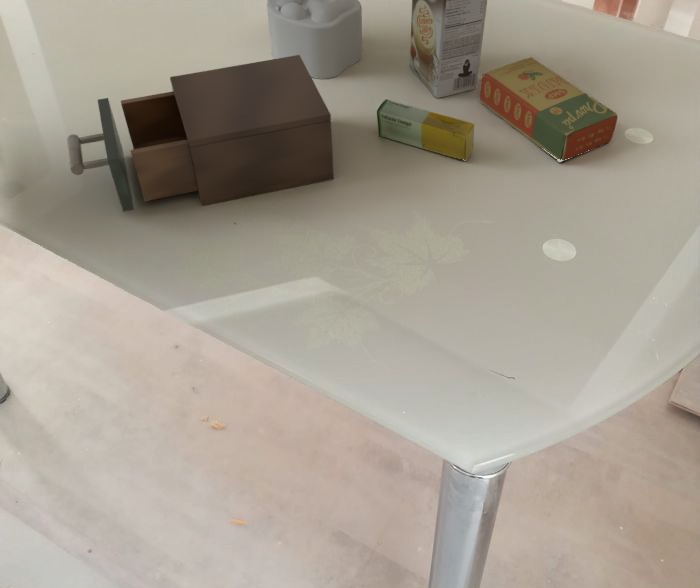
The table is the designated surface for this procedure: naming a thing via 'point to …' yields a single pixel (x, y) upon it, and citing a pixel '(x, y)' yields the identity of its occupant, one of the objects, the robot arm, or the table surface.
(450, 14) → the coffee box
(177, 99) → the cabinet
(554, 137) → the carton
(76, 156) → the drawer
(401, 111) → the medication box
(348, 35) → the lumpy-topped squat cylinder
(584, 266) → the table surface
